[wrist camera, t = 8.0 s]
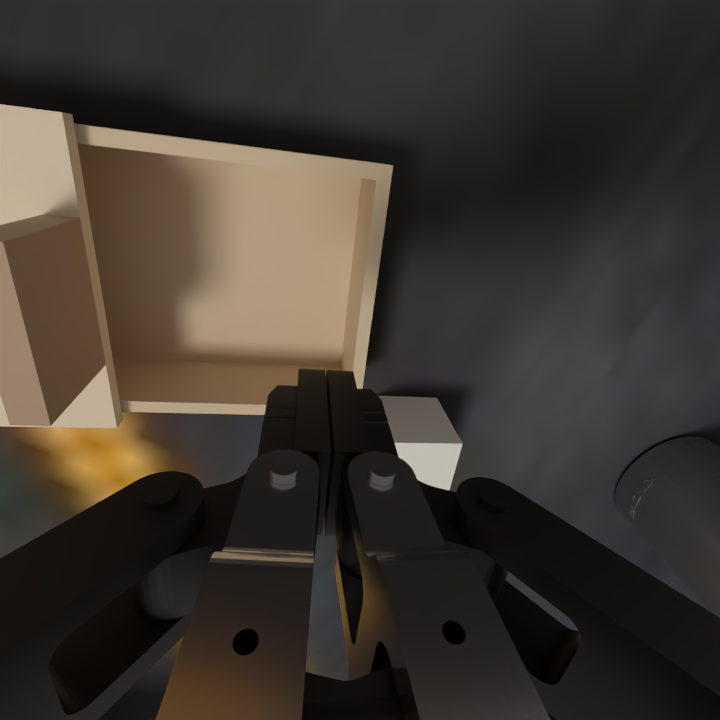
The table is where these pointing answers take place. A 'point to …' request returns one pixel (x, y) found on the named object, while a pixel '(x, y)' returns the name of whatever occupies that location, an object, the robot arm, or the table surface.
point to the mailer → (229, 265)
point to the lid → (49, 282)
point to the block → (424, 438)
